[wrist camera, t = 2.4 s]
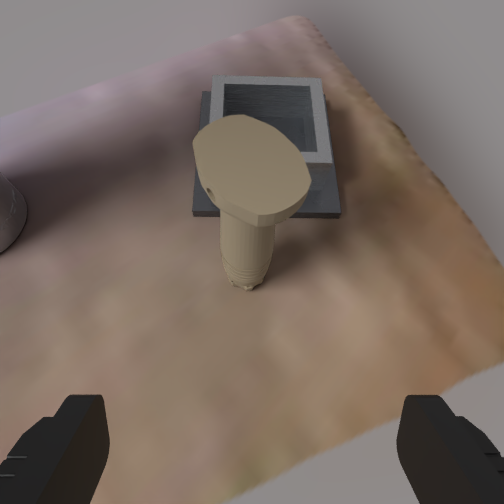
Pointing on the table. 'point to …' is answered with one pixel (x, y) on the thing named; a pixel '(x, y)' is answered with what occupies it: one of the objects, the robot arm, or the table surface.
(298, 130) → the socket
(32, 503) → the robot arm
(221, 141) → the handle
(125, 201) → the table surface
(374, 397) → the table surface
